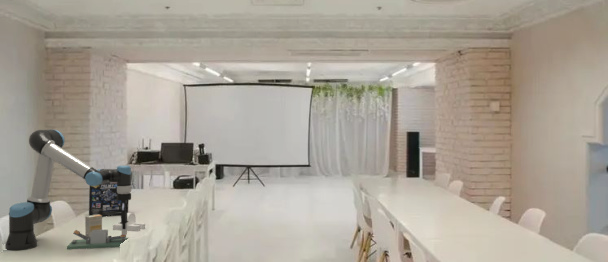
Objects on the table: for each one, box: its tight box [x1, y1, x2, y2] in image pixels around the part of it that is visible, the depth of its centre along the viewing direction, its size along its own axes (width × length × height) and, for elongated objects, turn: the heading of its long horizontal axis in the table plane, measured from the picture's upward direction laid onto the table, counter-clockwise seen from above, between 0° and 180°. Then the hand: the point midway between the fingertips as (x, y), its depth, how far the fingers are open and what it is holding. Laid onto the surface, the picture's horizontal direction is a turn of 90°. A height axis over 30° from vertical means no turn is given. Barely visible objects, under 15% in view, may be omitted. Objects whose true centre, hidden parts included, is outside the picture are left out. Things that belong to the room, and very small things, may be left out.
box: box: [88, 182, 130, 218], centre depth 363 cm, size 27×7×27 cm, turn 115°
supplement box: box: [84, 214, 103, 237], centre depth 295 cm, size 8×5×13 cm, turn 141°
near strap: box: [73, 229, 90, 240], centre depth 276 cm, size 10×5×2 cm
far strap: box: [107, 234, 127, 240], centre depth 281 cm, size 10×5×2 cm, turn 104°
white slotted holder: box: [112, 212, 146, 232], centre depth 319 cm, size 10×18×11 cm, turn 78°
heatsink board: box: [66, 229, 129, 250], centre depth 278 cm, size 30×16×8 cm, turn 104°
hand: (124, 234), depth 281 cm, fingers closed
